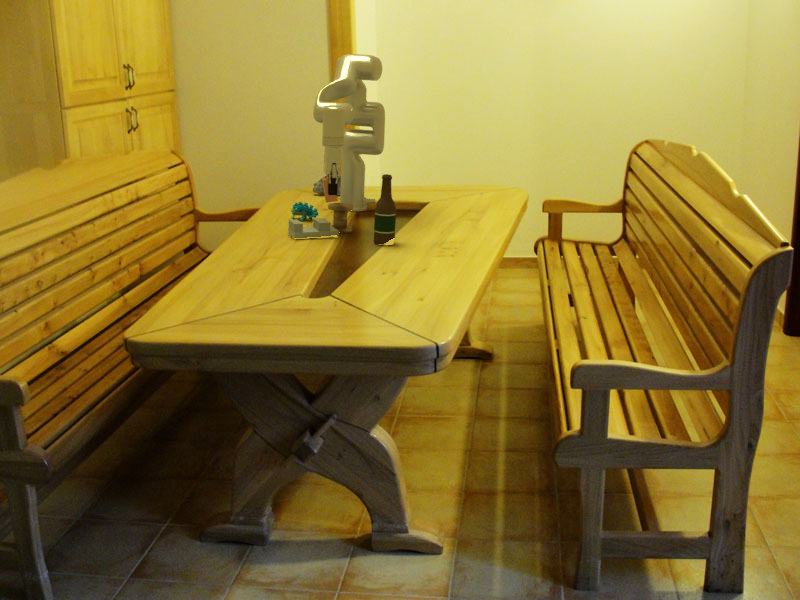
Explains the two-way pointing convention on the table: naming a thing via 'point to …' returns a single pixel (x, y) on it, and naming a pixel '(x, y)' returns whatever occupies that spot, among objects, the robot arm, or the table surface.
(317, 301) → the table surface
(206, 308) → the table surface
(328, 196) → the orange rectangular block
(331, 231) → the grey notched block
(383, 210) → the beer bottle
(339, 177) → the mineral rock
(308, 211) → the teal lobed piece
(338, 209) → the bobbin
